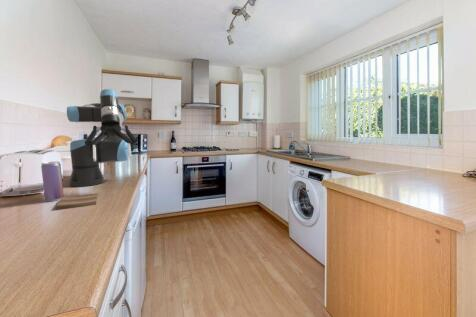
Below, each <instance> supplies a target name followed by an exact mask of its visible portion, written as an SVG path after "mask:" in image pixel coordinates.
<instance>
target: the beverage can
mask: <svg viewBox="0 0 476 317" xmlns="http://www.w3.org/2000/svg"><path fill="white" fill-rule="evenodd" d="M61 166H62V165H61V163H60V161H45V162H41V166H40V168H41V176H42V186H43V195H44V199H45V201H47V202H57V201H60V200H61V199H62V198H65V196H64V195H65V194H64V185H63V176H62V174H63V173H62V167H61Z"/></svg>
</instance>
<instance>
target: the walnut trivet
mask: <svg viewBox="0 0 476 317" xmlns="http://www.w3.org/2000/svg"><path fill="white" fill-rule="evenodd" d="M98 198H99V195H98V193H93V194H84V195H83V194H82V195H75V196H66V197H65V196H64V197H63V198H62V199H61V200H58V202H57V204H56V205H55V210H56V211H57V210H59V211H60V210H65V209H66V210H67V209H71V208H72V209H73V208H79V207H86V206H87V207H88V206H93V205H97V202H98Z"/></svg>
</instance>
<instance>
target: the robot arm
mask: <svg viewBox="0 0 476 317" xmlns="http://www.w3.org/2000/svg"><path fill="white" fill-rule="evenodd" d="M99 93H100V94H99V98H100V100H99V102H100V103H99V102H96V103H95V102H94V103H89V104H87V103H86V104H84V105H82V106H77V105H72V106H71V105H70V106H67V107H66V117H67V119H68V121H69V122H70V123H71V122H72V123H101V126H96V125H93V128H92V131H91V132H90V133H89V135H88V136H87V138H84V139H83V138H81V139H76V140H72V141H71V142H70V143H69V149H70V150H69V151H70V159H71V174H70V177H69V182H68V183H69V187H75V188H77V187H89V186H90V187H91V186H95V185H99V184H102V183H104V182H105V178H104V175H103V173H102V171H101V168H100V164H99V163H115V162H119V163H120V162H126V161H128V160H129V159H130V160H131V159H132V152H134V145H137V144H138V140H137V138H136V137H135V136H134V135H133V133H132V132H131V130H129V126H128V125H126V124H125V125H124V126H123V124H124V123H125V122H127V121H126V120H127V113H126V108H125V106H124V104H122V103H119V96H118V93H117V91H115V90H114V89H111V88H104V89H102V90H101V91H100V92H99ZM99 131H101V132H100V133H99ZM123 132H124V133H125V134H126V135H127V136H126V135H125V134H124V133H123ZM97 133H98V135H97ZM96 135H97V136H96Z"/></svg>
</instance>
